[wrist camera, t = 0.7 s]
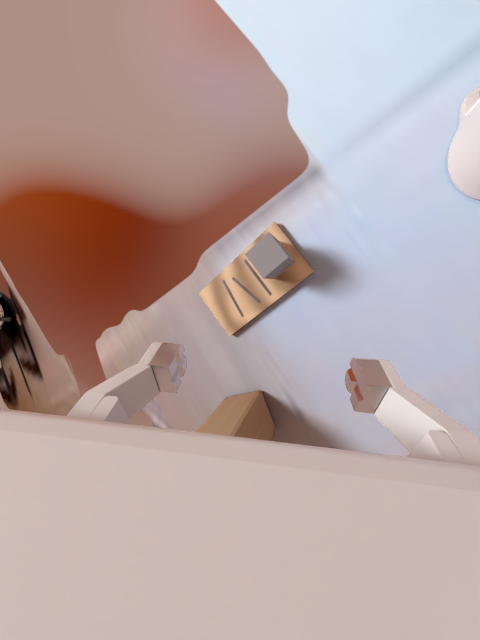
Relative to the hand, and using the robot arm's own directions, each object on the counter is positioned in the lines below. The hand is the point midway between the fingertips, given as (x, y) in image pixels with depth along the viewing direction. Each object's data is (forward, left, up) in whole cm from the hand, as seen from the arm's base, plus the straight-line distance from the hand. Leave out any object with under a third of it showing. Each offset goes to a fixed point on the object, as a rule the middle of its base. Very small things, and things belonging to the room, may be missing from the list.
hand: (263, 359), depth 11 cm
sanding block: (0, -10, -34) cm, 35 cm away
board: (+7, -10, -35) cm, 37 cm away
